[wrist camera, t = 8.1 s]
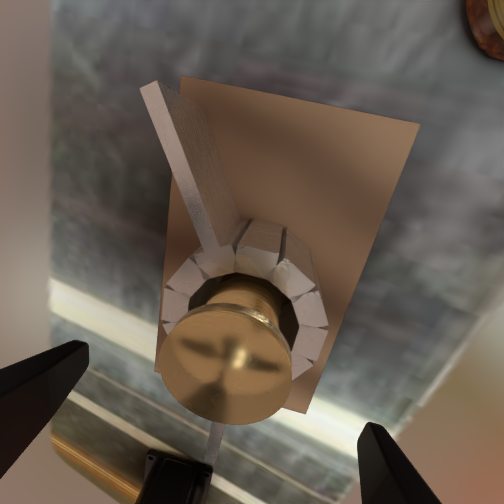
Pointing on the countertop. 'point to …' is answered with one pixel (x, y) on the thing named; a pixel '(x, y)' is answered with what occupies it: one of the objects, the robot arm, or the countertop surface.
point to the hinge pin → (230, 354)
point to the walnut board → (298, 189)
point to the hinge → (230, 239)
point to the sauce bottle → (487, 25)
